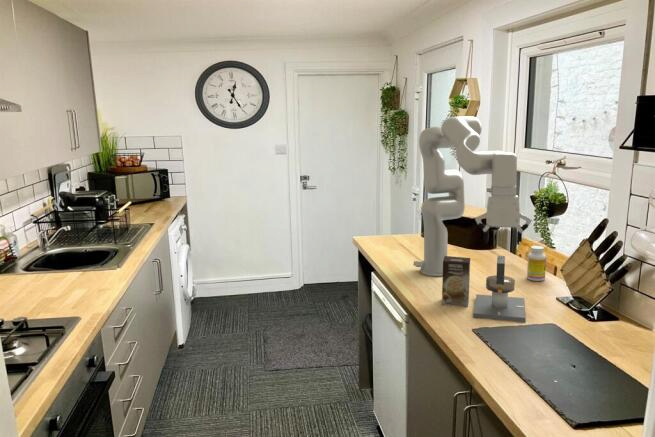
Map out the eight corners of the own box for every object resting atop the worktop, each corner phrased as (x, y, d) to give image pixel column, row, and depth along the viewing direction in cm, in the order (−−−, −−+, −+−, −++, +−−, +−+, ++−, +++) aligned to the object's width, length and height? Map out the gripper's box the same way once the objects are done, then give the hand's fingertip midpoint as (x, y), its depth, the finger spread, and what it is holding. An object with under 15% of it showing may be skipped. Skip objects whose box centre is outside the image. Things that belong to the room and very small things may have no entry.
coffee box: (441, 305, 180) (441, 260, 177) (443, 298, 186) (443, 255, 183) (468, 307, 177) (469, 262, 174) (469, 300, 183) (470, 257, 180)
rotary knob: (486, 282, 178) (487, 254, 176) (514, 284, 175) (515, 256, 173) (485, 294, 167) (485, 264, 165) (514, 296, 164) (515, 266, 162)
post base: (473, 317, 168) (473, 296, 167) (476, 298, 185) (476, 278, 183) (525, 322, 163) (526, 300, 162) (524, 302, 180) (524, 282, 178)
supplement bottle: (546, 281, 199) (548, 249, 196) (528, 281, 200) (529, 249, 198) (543, 276, 205) (544, 245, 203) (525, 275, 207) (526, 244, 204)
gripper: (474, 193, 165) (474, 245, 168) (533, 193, 159) (531, 247, 162) (476, 189, 172) (475, 239, 175) (532, 190, 166) (530, 241, 169)
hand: (502, 243), depth 169 cm, fingers open, 9 cm apart
